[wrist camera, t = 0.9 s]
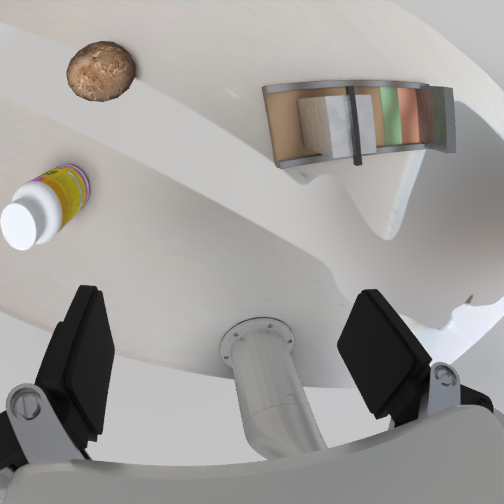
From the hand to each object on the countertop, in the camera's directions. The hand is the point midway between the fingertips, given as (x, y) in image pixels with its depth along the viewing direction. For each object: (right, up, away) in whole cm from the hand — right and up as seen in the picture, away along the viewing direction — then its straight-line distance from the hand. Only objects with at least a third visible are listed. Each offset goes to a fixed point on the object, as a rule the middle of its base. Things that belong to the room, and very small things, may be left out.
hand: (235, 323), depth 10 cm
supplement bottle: (-23, +11, +21) cm, 33 cm away
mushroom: (-16, +23, +16) cm, 32 cm away
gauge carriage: (+9, +18, +21) cm, 29 cm away
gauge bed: (+14, +20, +23) cm, 34 cm away
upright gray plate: (+25, +22, +23) cm, 40 cm away
